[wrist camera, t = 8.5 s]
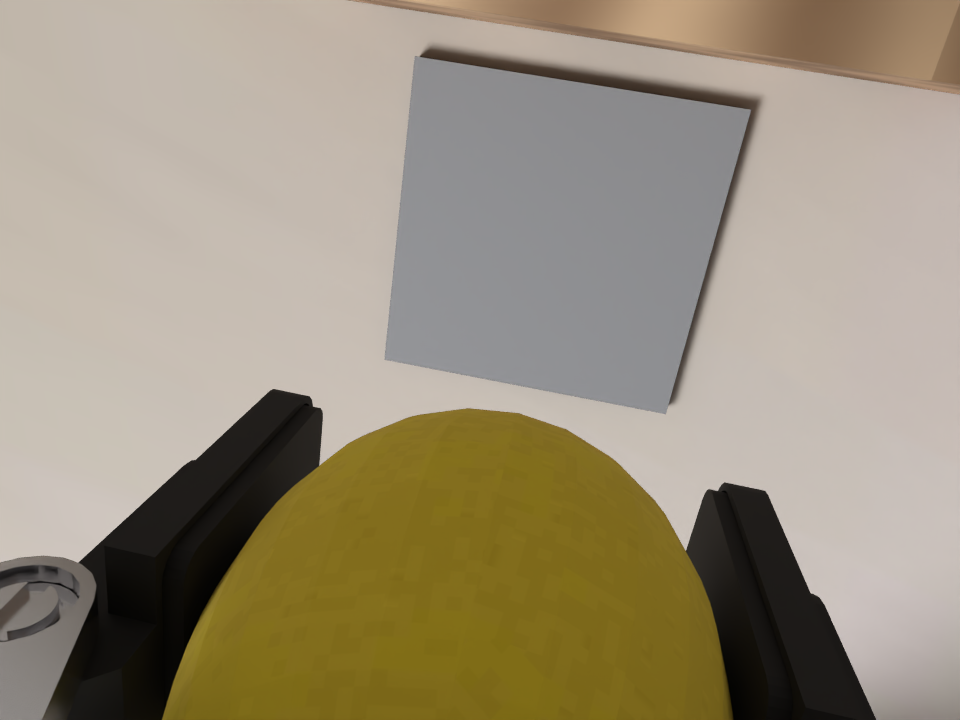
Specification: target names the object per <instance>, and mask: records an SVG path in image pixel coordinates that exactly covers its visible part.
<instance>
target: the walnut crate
mask: <svg viewBox="0 0 960 720" xmlns="http://www.w3.org/2000/svg"><path fill="white" fill-rule="evenodd" d="M350 1H357V2H363V3H370V4H376V5H383V6H389V7H396V8H402V9H409V10H415V11H422V12H428V13H435V14H441V15H448V16H454V17H461V18H467V19H474V20H480V21H487V22H493V23H499V24H506V25H512V26H519V27H525V28H532V29H538V30H545V31H551V32H558V33H564V34H571V35H577V36H584V37H590V38H597V39H603V40H610V41H616V42H623V43H629V44H636V45H642V46H649V47H655V48H662V49H668V50H675V51H681V52H688V53H694V54H701V55H707V56H714V57H720V58H727V59H733V60H740V61H746V62H753V63H759V64H766V65H772V66H779V67H785V68H792V69H798V70H805V71H811V72H818V73H824V74H831V75H837V76H844V77H850V78H857V79H863V80H870V81H876V82H883V83H889V84H896V85H902V86H909V87H915V88H922V89H928V90H935V91H941V92H948V93H954V94H960V0H350Z"/></svg>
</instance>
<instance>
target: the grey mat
mask: <svg viewBox="0 0 960 720" xmlns="http://www.w3.org/2000/svg"><path fill="white" fill-rule="evenodd" d="M750 112H751V110H750V109H744V108H738V107H731V106H725V105H719V104H713V103H706V102H700V101H694V100H687V99H681V98H675V97H669V96H662V95H656V94H650V93H643V92H637V91H631V90H625V89H618V88H612V87H606V86H599V85H593V84H587V83H581V82H574V81H568V80H562V79H555V78H549V77H543V76H537V75H530V74H524V73H518V72H511V71H505V70H499V69H493V68H486V67H480V66H474V65H467V64H461V63H455V62H449V61H442V60H436V59H430V58H423V57H417V56H415V60H414V70H413V80H412V90H411V100H410V110H409V120H408V130H407V140H406V150H405V160H404V170H403V180H402V190H401V200H400V210H399V220H398V230H397V240H396V250H395V260H394V270H393V280H392V290H391V300H390V310H389V320H388V330H387V340H386V350H385V360H389V361H394V362H399V363H404V364H410V365H415V366H420V367H425V368H430V369H435V370H441V371H446V372H451V373H456V374H461V375H466V376H472V377H477V378H482V379H487V380H492V381H497V382H503V383H508V384H513V385H518V386H523V387H528V388H534V389H539V390H544V391H549V392H554V393H559V394H565V395H570V396H575V397H580V398H585V399H590V400H596V401H601V402H606V403H611V404H616V405H621V406H627V407H632V408H637V409H642V410H647V411H652V412H658V413H663V414H666V411H667V408H668V404H669V401H670V397H671V394H672V390H673V386H674V383H675V379H676V376H677V372H678V369H679V365H680V361H681V358H682V354H683V351H684V347H685V344H686V340H687V337H688V333H689V329H690V326H691V322H692V319H693V315H694V312H695V308H696V304H697V301H698V297H699V294H700V290H701V287H702V283H703V280H704V276H705V272H706V269H707V265H708V262H709V258H710V255H711V251H712V247H713V244H714V240H715V237H716V233H717V230H718V226H719V223H720V219H721V215H722V212H723V208H724V205H725V201H726V198H727V194H728V191H729V187H730V183H731V180H732V176H733V173H734V169H735V166H736V162H737V158H738V155H739V151H740V148H741V144H742V141H743V137H744V134H745V130H746V126H747V123H748V119H749V116H750Z"/></svg>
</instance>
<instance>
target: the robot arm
mask: <svg viewBox="0 0 960 720" xmlns="http://www.w3.org/2000/svg"><path fill="white" fill-rule="evenodd" d="M322 421H323V413H322V410H321V408H316V407H313V404H312V399H311V398H310V396H305V395H300V394H295V393H290V392H285V391H281V390H276V389H272V390H271V391H269V392H268V393H267V394H266V395H265V396H264V397H263V398H262V399H261V400H260V401H259V402H258V403H256V404H255V405H254V406H253V407H252V408H251V409H250V410H249V411H248V412H247V413H246V414H245V415H244V416H242V417H241V418H240V419H239V420H238V421H237V422H236V423H235V424H234V425H233V426H232V427H231V428H230V429H229V430H227V431H226V432H225V433H224V434H223V435H222V436H221V437H220V438H219V439H218V440H217V441H216V442H215V443H214V444H212V445H211V446H210V447H209V448H208V449H207V450H206V451H205V452H204V453H203V454H202V455H201V456H200V457H198V458H197V459H196V460H192V461H190V462H189V463H187V464H186V465H184V466H183V467H182V468H181V469H180V470H179V471H178V472H177V473H175V474H174V475H173V476H172V477H171V478H170V479H169V480H168V481H167V482H166V483H165V484H163V485H162V486H161V487H160V488H159V489H158V490H157V491H156V492H155V493H154V494H153V495H151V496H150V497H149V498H148V499H147V500H146V501H145V502H144V503H143V504H142V505H141V506H140V507H138V508H137V509H136V510H135V511H134V512H133V513H132V514H131V515H130V516H129V517H128V518H126V519H125V520H124V521H123V522H122V523H121V524H120V525H119V526H118V527H117V528H116V529H114V530H113V531H112V532H111V533H110V534H109V535H108V536H107V537H106V538H105V539H104V540H103V541H101V542H100V543H99V544H98V545H97V546H96V547H95V548H94V549H93V550H92V551H91V552H89V553H88V554H87V555H86V556H85V557H84V558H83V559H82V560H81V561H80V562H79V563H77V562H75V561H72V560H69V559H66V558H62V557H51V556H34V557H22V558H17V559H13V560H9V561H5V562H1V563H0V720H162V718H163V715H164V711H165V708H166V705H167V701H168V698H169V695H170V691H171V688H172V685H173V682H174V679H175V676H176V673H177V671H178V668H179V665H180V663H181V660H182V658H183V655H184V652H185V650H186V647H187V645H188V642H189V640H190V638H191V636H192V634H193V631H194V629H195V627H196V625H197V623H198V620H199V618H200V616H201V614H202V612H203V610H204V608H205V607H206V605H207V603H208V601H209V599H210V598H211V596H212V594H213V592H214V590H215V588H216V587H217V585H218V584H219V582H220V581H221V579H222V578H223V576H224V575H225V573H226V572H227V570H228V569H229V567H230V566H231V564H232V563H233V561H234V560H235V558H236V557H237V556H238V554H239V553H240V551H241V550H242V548H243V547H244V545H245V544H246V542H247V541H248V540H249V538H250V537H251V535H252V534H253V532H254V531H255V529H256V528H257V526H258V525H259V523H260V522H261V521H262V519H263V518H264V517H265V516H266V515H267V513H268V512H269V511H270V510H271V509H272V507H273V506H274V505H275V504H276V503H277V502H278V501H279V500H280V499H281V498H282V497H283V496H284V495H285V494H286V493H287V492H288V491H289V490H290V489H291V488H292V487H293V486H294V485H296V484H297V483H298V482H300V481H301V480H302V479H303V478H305V477H306V476H307V475H308V474H310V473H311V472H312V471H313V470H315V469H316V468H317V467H319V461H320V448H321V434H322ZM686 553H687V555H688V556H689V558H690V560H691V562H692V564H693V566H694V567H695V569H696V571H697V573H698V575H699V577H700V579H701V581H702V583H703V586H704V588H705V591H706V594H707V596H708V599H709V601H710V604H711V608H712V612H713V616H714V619H715V623H716V627H717V631H718V636H719V641H720V646H721V651H722V656H723V661H724V666H725V671H726V676H727V680H728V686H729V692H730V699H731V705H732V711H733V720H876V718H875V716H874V714H873V712H872V709H871V707H870V705H869V703H868V701H867V698H866V696H865V694H864V692H863V689H862V687H861V685H860V683H859V681H858V678H857V676H856V674H855V672H854V670H853V667H852V665H851V663H850V661H849V658H848V656H847V654H846V652H845V650H844V647H843V645H842V643H841V641H840V638H839V636H838V634H837V632H836V630H835V627H834V625H833V623H832V621H831V618H830V616H829V614H828V612H827V610H826V607H825V605H824V604H823V602H822V601H821V599H820V598H819V597H818V596H816V595H814V594H811V593H810V591H809V589H808V586H807V584H806V582H805V580H804V577H803V575H802V573H801V570H800V568H799V566H798V563H797V561H796V559H795V556H794V554H793V552H792V550H791V547H790V545H789V543H788V540H787V538H786V536H785V533H784V531H783V529H782V526H781V524H780V522H779V520H778V517H777V515H776V513H775V510H774V508H773V506H772V503H771V501H770V499H769V497H768V494H767V493H766V492H765V491H763V490H758V489H754V488H749V487H744V486H739V485H734V484H729V483H723V484H722V485H721V487H720V488H719V490H718V491H715V490H710V489H708V490H707V491H706V493H705V495H704V497H703V500H702V503H701V506H700V509H699V512H698V515H697V519H696V522H695V525H694V528H693V531H692V534H691V537H690V540H689V544H688V547H687V550H686Z"/></svg>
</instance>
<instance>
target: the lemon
mask: <svg viewBox="0 0 960 720" xmlns="http://www.w3.org/2000/svg"><path fill="white" fill-rule="evenodd" d="M162 720H733V711H732V705H731V699H730V692H729V686H728V680H727V676H726V671H725V666H724V661H723V656H722V651H721V646H720V641H719V636H718V631H717V627H716V623H715V619H714V616H713V612H712V608H711V604H710V601H709V599H708V596H707V594H706V591H705V588H704V586H703V583H702V581H701V579H700V577H699V575H698V573H697V571H696V569H695V567H694V566H693V564H692V562H691V560H690V558H689V556H688V555H687V553H686V551H685V549H684V547H683V546H682V544H681V542H680V540H679V538H678V537H677V535H676V533H675V531H674V529H673V528H672V526H671V524H670V522H669V520H668V519H667V517H666V515H665V513H664V512H663V511H662V510H661V508H660V507H659V506H658V504H657V503H656V502H655V500H654V499H653V498H652V497H651V496H650V495H649V494H648V493H647V492H646V491H645V490H644V489H643V488H642V487H641V486H640V485H639V484H638V483H637V482H636V481H635V480H634V479H633V478H632V477H631V476H630V475H629V474H628V473H627V472H626V471H625V470H624V469H623V468H622V467H621V466H620V465H619V464H618V463H617V462H616V461H615V460H613V459H612V458H611V457H610V456H608V455H606V454H605V453H603V452H602V451H600V450H598V449H597V448H595V447H594V446H592V445H590V444H589V443H587V442H586V441H584V440H582V439H581V438H579V437H578V436H576V435H574V434H573V433H571V432H570V431H568V430H566V429H563V428H560V427H557V426H554V425H552V424H549V423H546V422H543V421H540V420H537V419H534V418H531V417H528V416H525V415H522V414H519V413H511V412H500V411H490V410H480V409H469V408H467V409H460V410H452V411H445V412H437V413H429V414H422V415H417V416H412V417H408V418H406V419H403V420H401V421H398V422H396V423H394V424H391V425H389V426H386V427H384V428H381V429H379V430H376V431H374V432H371V433H369V434H366V435H364V436H362V437H360V438H358V439H356V440H354V441H352V442H350V443H349V444H347V445H346V446H345V447H343V448H342V449H340V450H339V451H338V452H336V453H335V454H334V455H333V456H331V457H330V458H329V459H327V460H326V461H325V462H324V463H322V464H321V465H320V466H319V467H317V468H316V469H315V470H313V471H312V472H311V473H310V474H308V475H307V476H306V477H305V478H303V479H302V480H301V481H300V482H298V483H297V484H296V485H294V486H293V487H292V488H291V489H290V490H289V491H288V492H287V493H286V494H285V495H284V496H283V497H282V498H281V499H280V500H279V501H278V502H277V503H276V504H275V505H274V506H273V507H272V509H271V510H270V511H269V512H268V513H267V515H266V516H265V517H264V518H263V519H262V521H261V522H260V523H259V525H258V526H257V528H256V529H255V531H254V532H253V534H252V535H251V537H250V538H249V540H248V541H247V542H246V544H245V545H244V547H243V548H242V550H241V551H240V553H239V554H238V556H237V557H236V558H235V560H234V561H233V563H232V564H231V566H230V567H229V569H228V570H227V572H226V573H225V575H224V576H223V578H222V579H221V581H220V582H219V584H218V585H217V587H216V588H215V590H214V592H213V594H212V596H211V598H210V599H209V601H208V603H207V605H206V607H205V608H204V610H203V612H202V614H201V616H200V618H199V620H198V623H197V625H196V627H195V629H194V631H193V634H192V636H191V638H190V640H189V642H188V645H187V647H186V650H185V652H184V655H183V658H182V660H181V663H180V665H179V668H178V671H177V673H176V676H175V679H174V682H173V685H172V688H171V691H170V695H169V698H168V701H167V705H166V708H165V711H164V715H163V718H162Z"/></svg>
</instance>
